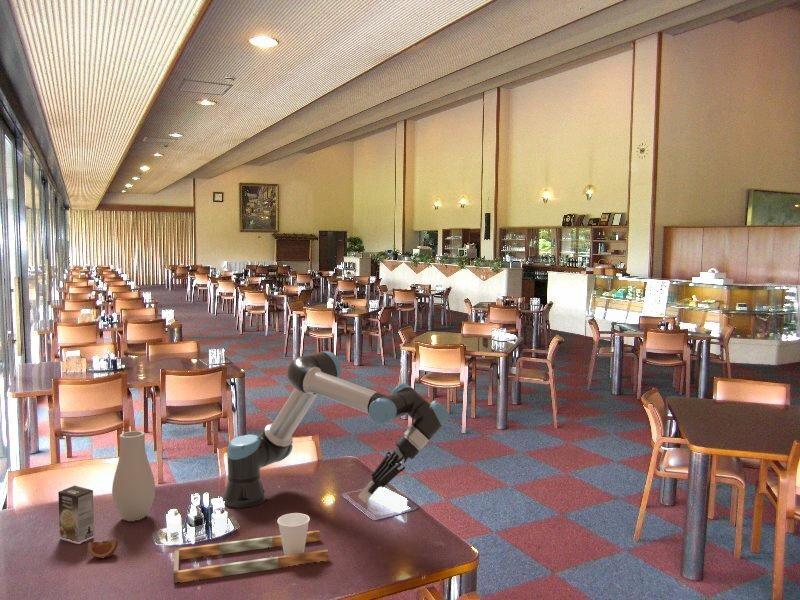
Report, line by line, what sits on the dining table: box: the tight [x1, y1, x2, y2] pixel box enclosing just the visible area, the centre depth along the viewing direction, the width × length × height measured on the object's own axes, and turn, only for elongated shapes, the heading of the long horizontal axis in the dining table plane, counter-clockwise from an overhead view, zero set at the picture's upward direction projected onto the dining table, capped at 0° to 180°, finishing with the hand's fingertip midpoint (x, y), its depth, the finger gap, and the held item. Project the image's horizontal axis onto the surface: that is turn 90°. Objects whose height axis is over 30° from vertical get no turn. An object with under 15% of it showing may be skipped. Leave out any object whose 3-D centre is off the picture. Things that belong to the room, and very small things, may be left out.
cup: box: [276, 512, 311, 556], centre depth 199 cm, size 10×10×11 cm
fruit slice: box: [87, 539, 119, 559], centre depth 198 cm, size 8×7×5 cm
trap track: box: [173, 529, 329, 584], centre depth 196 cm, size 44×15×3 cm, turn 108°
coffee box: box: [57, 485, 95, 542], centre depth 209 cm, size 9×6×16 cm
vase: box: [111, 430, 156, 522], centre depth 224 cm, size 14×14×30 cm
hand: (361, 499), depth 205 cm, fingers closed
